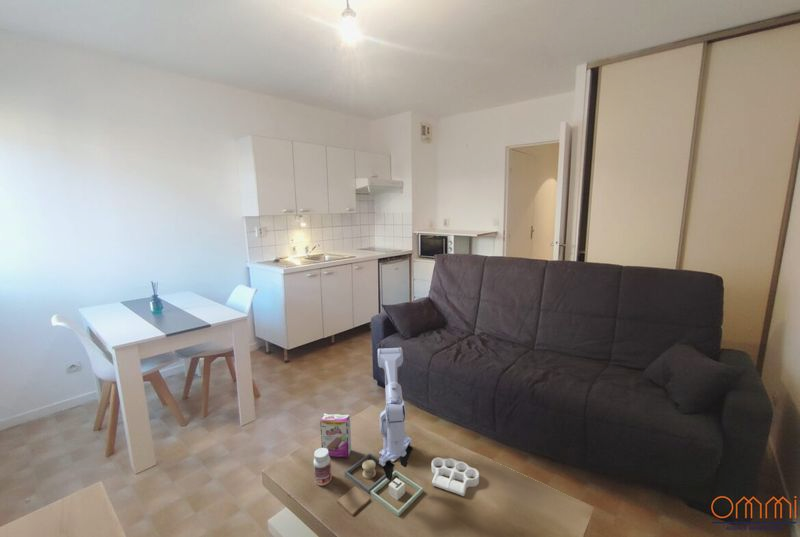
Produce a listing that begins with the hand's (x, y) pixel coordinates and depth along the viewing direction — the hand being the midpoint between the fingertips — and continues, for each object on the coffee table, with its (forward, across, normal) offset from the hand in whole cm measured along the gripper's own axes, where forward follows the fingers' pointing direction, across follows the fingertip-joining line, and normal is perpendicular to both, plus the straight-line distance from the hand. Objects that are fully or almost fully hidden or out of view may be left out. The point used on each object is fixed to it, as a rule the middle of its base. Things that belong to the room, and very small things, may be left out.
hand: (396, 472), depth 121 cm
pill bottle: (+9, -13, +25) cm, 30 cm away
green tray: (+9, 0, 0) cm, 9 cm away
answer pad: (+9, -12, +9) cm, 17 cm away
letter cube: (+9, 0, 0) cm, 9 cm away
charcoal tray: (+9, 0, +14) cm, 16 cm away
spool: (+9, 0, +14) cm, 16 cm away
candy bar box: (+9, -1, +32) cm, 33 cm away
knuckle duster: (+9, +19, -11) cm, 24 cm away
